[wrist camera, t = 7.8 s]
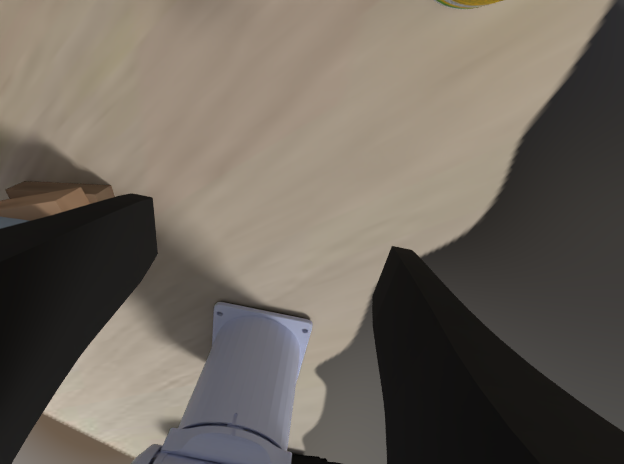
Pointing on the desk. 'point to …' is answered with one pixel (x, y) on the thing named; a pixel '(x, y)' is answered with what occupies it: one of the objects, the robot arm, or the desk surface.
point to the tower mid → (43, 204)
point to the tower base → (34, 188)
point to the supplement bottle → (465, 3)
